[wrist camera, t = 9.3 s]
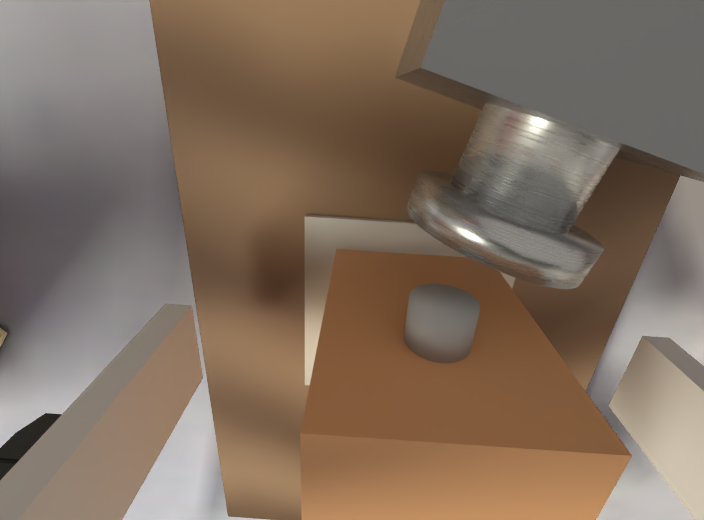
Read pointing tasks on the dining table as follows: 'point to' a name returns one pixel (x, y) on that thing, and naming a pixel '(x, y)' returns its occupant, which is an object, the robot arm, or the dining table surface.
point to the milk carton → (2, 336)
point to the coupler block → (445, 402)
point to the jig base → (331, 206)
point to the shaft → (552, 118)
